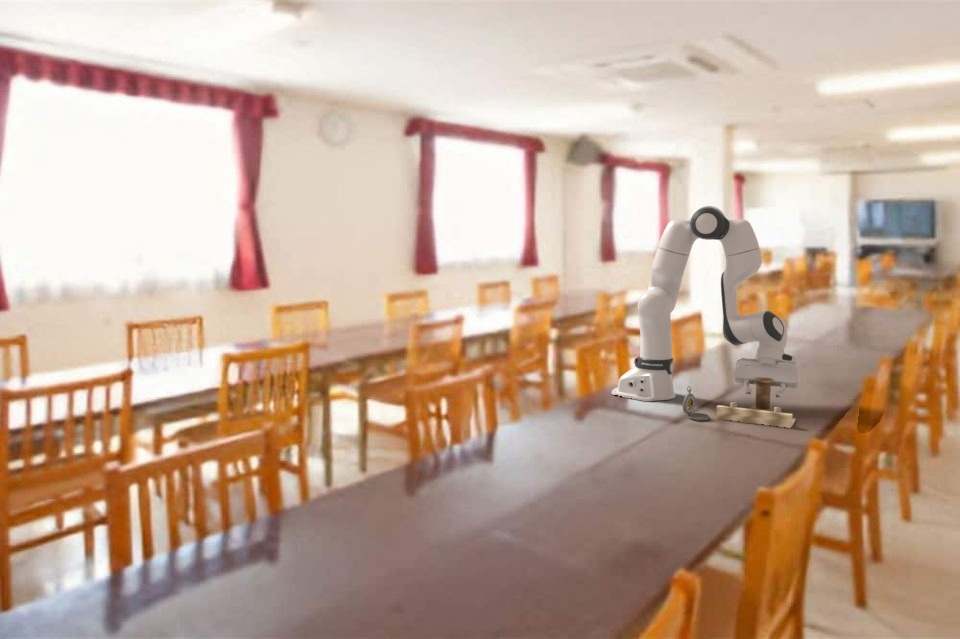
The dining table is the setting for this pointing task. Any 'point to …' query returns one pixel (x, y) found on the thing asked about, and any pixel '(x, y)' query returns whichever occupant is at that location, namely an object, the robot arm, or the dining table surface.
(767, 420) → the peg rack
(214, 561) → the dining table surface
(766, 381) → the flanged spool
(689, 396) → the pocket watch
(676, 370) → the dining table surface
